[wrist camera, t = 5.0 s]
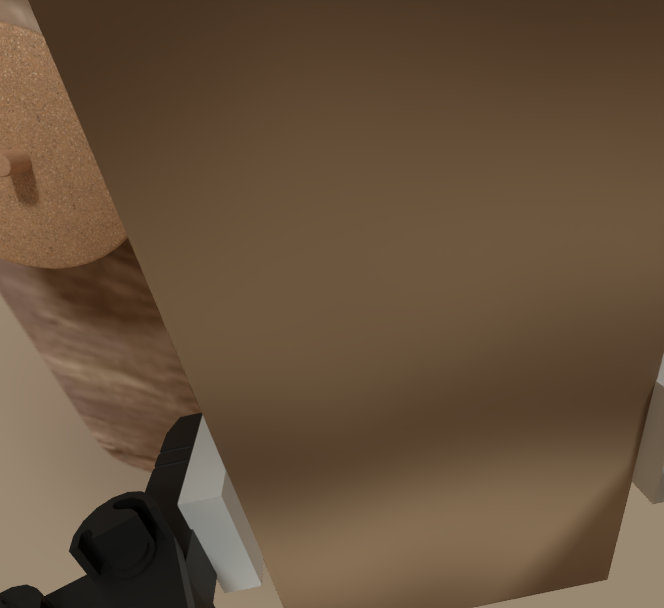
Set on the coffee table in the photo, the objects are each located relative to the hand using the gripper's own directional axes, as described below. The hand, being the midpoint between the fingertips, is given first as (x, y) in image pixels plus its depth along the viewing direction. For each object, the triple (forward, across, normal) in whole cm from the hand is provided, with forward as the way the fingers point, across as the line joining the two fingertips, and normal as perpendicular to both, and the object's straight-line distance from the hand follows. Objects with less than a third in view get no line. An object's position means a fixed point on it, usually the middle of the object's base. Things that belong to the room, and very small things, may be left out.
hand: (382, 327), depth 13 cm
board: (-3, 0, +2) cm, 4 cm away
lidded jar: (+17, -14, +7) cm, 23 cm away
